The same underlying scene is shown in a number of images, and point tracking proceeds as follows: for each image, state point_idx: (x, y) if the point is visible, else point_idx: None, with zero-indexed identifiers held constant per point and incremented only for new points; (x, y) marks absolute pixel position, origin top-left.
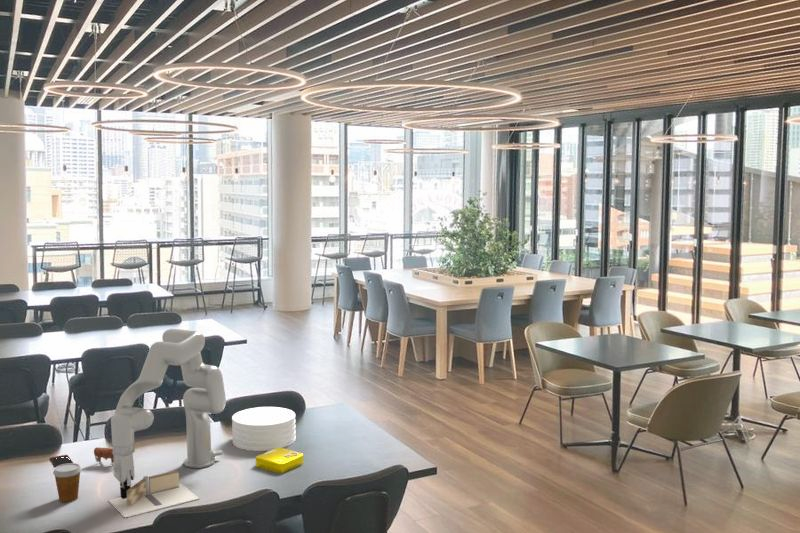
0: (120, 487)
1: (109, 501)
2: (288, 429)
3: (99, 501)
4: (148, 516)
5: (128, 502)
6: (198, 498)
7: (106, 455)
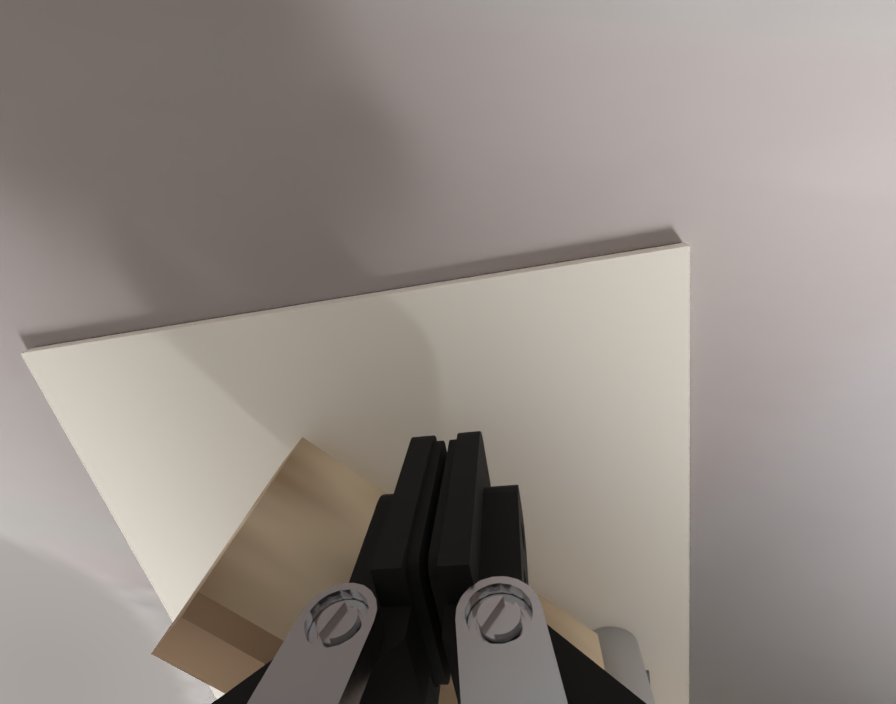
0: (447, 564)
1: (638, 252)
2: None
3: (782, 97)
4: (55, 540)
5: (273, 477)
6: None
7: None
